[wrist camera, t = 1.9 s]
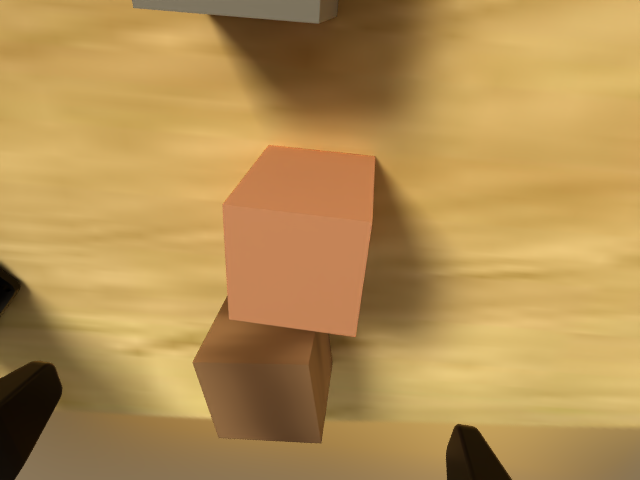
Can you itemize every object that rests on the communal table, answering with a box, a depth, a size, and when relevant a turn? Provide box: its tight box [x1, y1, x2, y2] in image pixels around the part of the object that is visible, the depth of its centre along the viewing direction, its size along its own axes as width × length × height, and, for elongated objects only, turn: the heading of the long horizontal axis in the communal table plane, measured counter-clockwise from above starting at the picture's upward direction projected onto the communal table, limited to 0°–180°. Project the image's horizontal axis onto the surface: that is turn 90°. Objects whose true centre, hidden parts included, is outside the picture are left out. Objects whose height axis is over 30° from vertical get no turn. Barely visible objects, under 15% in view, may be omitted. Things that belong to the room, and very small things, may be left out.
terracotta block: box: [223, 145, 375, 337], centre depth 16 cm, size 4×4×6 cm
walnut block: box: [193, 296, 332, 443], centre depth 21 cm, size 5×5×5 cm
